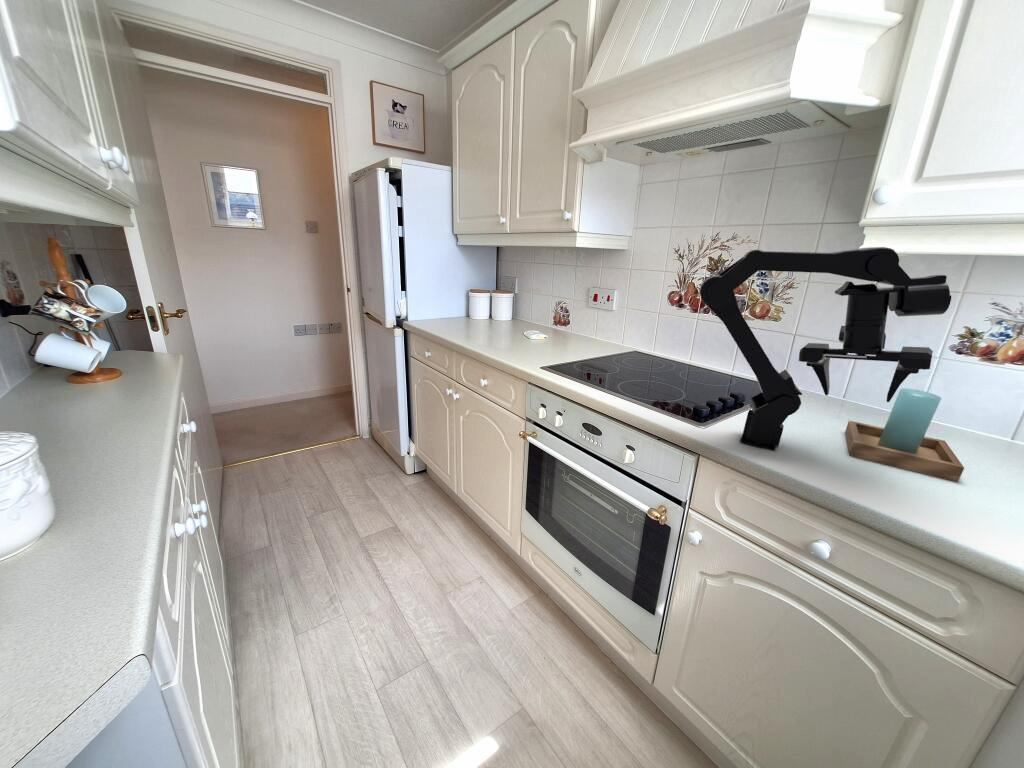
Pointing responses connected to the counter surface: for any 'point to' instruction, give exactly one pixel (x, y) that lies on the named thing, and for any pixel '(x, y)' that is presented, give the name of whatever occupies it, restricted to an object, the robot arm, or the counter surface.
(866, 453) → the tray
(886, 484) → the counter surface
